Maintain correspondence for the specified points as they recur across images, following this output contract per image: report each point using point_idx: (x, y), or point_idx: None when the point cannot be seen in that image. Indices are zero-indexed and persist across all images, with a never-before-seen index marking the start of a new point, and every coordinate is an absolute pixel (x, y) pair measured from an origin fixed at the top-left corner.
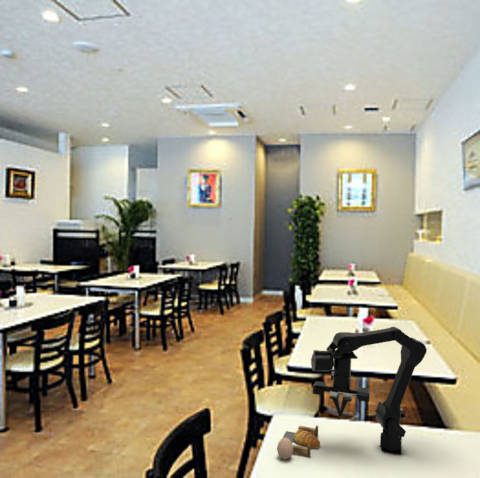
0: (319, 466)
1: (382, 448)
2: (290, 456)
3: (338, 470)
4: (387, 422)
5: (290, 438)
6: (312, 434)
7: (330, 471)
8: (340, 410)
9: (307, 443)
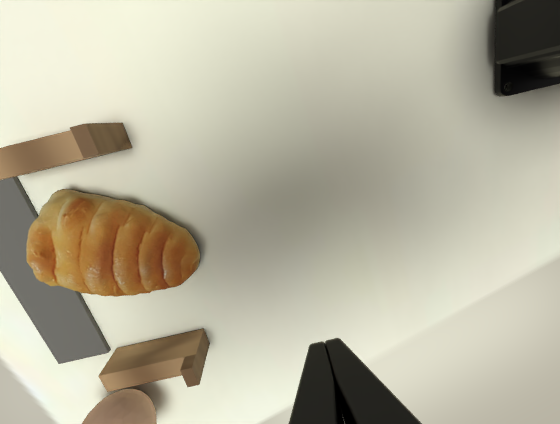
0: (271, 372)
1: (506, 72)
2: (155, 412)
3: None
4: None
5: None
6: (118, 220)
7: None
8: (340, 411)
9: (147, 291)
